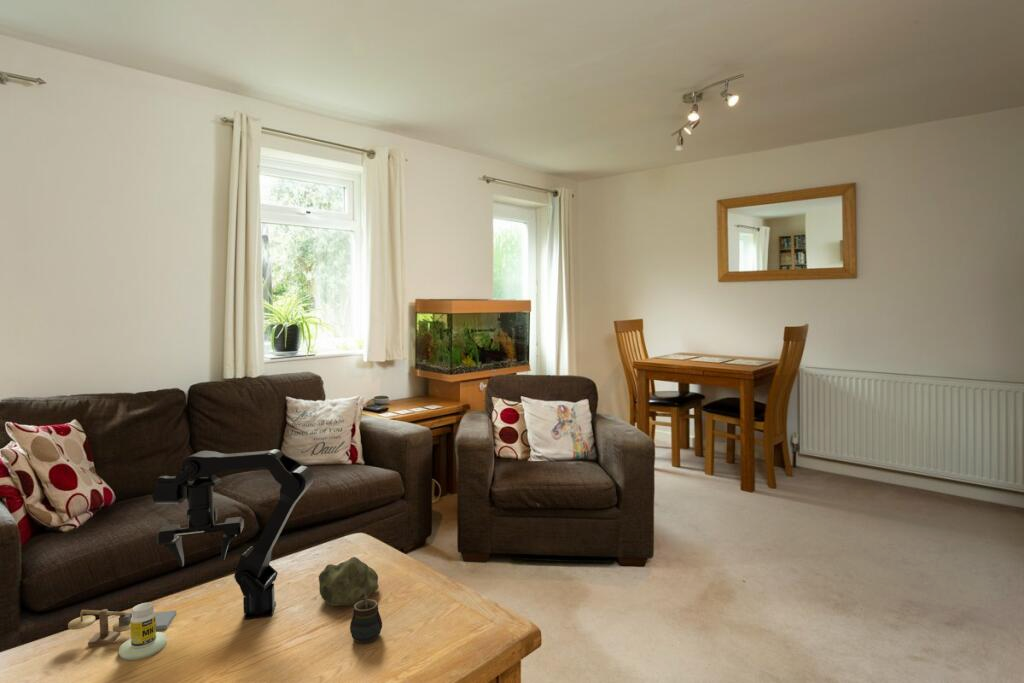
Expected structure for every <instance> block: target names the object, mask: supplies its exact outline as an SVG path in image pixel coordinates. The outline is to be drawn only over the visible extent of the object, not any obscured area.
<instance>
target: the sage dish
mask: <svg viewBox="0 0 1024 683" xmlns="http://www.w3.org/2000/svg"><path fill="white" fill-rule="evenodd" d="M167 640H168V639H167V634H165V633H164V632H161V631H156V640H155V641H154V642H153V643H152V644H151V645H149V646H146V647H143V648H133V647H132V646H131V638H129V639H126V641H124V642H123V643H122V644H121V645H120V646H119V648H118V654H119V658H120V659H121V660H124V661H137V660H142V659H145V658H148V657H152V656H153V655H155V654H157V653H158V652H160V651H162V650H163V649H164V648H165V646H166V645H167V642H168V641H167Z"/></svg>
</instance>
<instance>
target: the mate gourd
mask: <svg viewBox="0 0 1024 683" xmlns="http://www.w3.org/2000/svg"><path fill="white" fill-rule="evenodd" d="M363 590H364V597H365V598H364V599H362V600H361V601H359V602H357V603H356V604H355V605H353V607H352V609H353V614H352V617H351V619H350V624H349V630H350V635H351V638H352V639H353V640H354V641H355V642H357V643H359V644H369V643H372V642H374V641H375V640H376V639H377V638H378V636H379V635H380V634H381V632H382V628H383V621H382V617H381V614H380V611H379V604H378V601H376V600H375V599H370V598H369V599H368V596H366V595H367V593H366V589H363Z"/></svg>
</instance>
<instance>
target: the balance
mask: <svg viewBox="0 0 1024 683" xmlns="http://www.w3.org/2000/svg"><path fill="white" fill-rule="evenodd" d="M79 615H80V616H79V617H76V618H74V619H72V620H71V621H69V622H68V624H67V628H68V629H69V630H70V631H71V630H72V631H74V630H75V631H76V630H80V629H84V628H87V627H89V626H92V625H93V624H94V623H95V622H96V616H95V615H99V632H95V633H94V634H93V636H92V637H91V638H90V639H89V640H88V642H87V647H89V648H90V647H96V646H104V645H111V644H114V643H115V642H116V641H117V639H118V638H119V636H121V634H122V633H123V632H126V631H131V618H132V612H125V611H109V610H108V608H104V609H101V610H97V609H96V610H95V609H93V610H92V609H91V610H90V609H81V611H80V614H79ZM109 616H115V617H117V616H118V621H117V622H115V623H114V624H113V625H112V630H110V629H109ZM109 630H110V631H109Z"/></svg>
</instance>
